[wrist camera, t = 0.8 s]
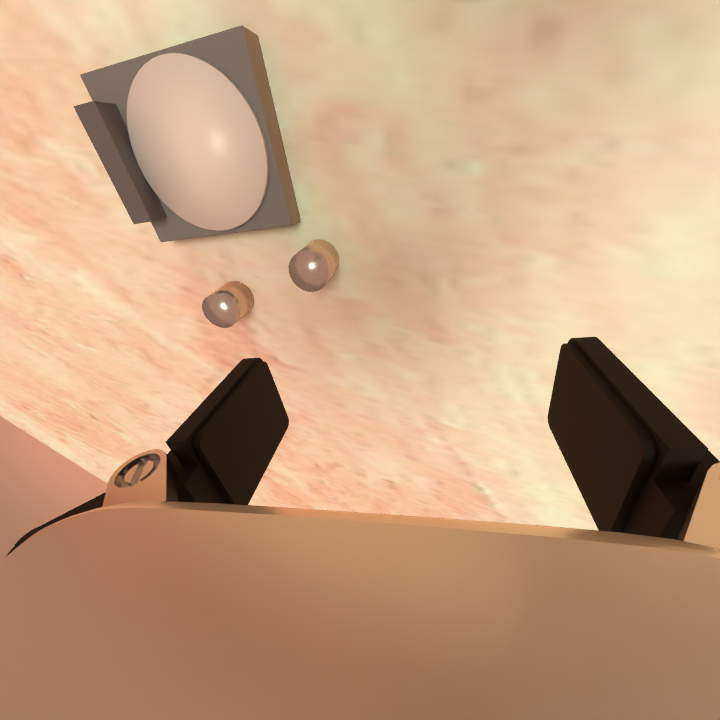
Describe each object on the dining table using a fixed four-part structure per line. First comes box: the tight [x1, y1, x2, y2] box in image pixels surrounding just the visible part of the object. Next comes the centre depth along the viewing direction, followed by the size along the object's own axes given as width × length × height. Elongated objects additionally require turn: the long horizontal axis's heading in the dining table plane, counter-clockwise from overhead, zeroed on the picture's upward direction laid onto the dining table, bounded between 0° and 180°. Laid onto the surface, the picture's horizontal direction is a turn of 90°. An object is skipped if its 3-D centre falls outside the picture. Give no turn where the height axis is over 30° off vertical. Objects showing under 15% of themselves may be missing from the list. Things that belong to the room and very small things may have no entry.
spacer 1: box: [202, 281, 254, 328], centre depth 40 cm, size 4×4×5 cm
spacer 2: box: [289, 240, 339, 292], centre depth 35 cm, size 4×4×5 cm
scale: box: [74, 26, 300, 242], centre depth 31 cm, size 15×17×5 cm
